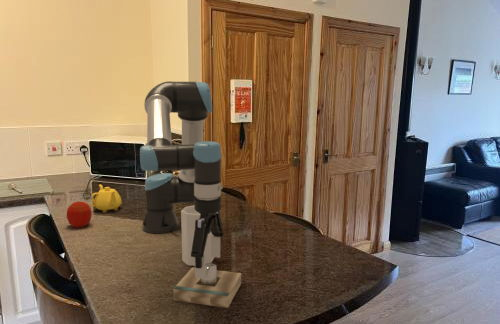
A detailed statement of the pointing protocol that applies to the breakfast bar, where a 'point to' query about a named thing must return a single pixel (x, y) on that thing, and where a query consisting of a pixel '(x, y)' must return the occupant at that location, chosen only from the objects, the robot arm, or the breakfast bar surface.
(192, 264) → the cup
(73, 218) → the apple
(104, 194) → the teapot
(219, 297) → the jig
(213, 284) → the grey metal cylinder
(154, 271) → the breakfast bar surface
